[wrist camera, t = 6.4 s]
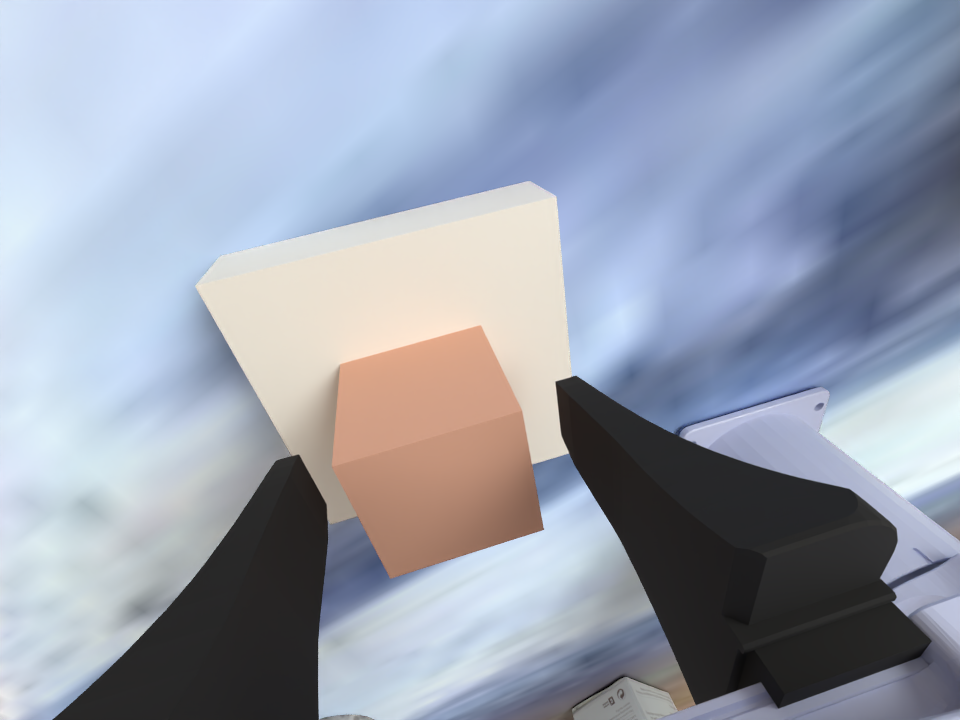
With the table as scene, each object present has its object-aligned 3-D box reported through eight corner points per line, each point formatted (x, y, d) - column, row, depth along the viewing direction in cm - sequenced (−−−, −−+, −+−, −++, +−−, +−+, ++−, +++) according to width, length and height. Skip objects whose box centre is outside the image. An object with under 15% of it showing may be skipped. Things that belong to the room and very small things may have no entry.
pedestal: (556, 412, 20) (578, 450, 18) (334, 477, 19) (330, 524, 17) (529, 180, 15) (556, 196, 13) (220, 256, 14) (195, 285, 12)
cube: (503, 430, 17) (543, 529, 13) (384, 465, 16) (390, 578, 13) (480, 325, 14) (522, 410, 11) (340, 363, 14) (331, 466, 10)
